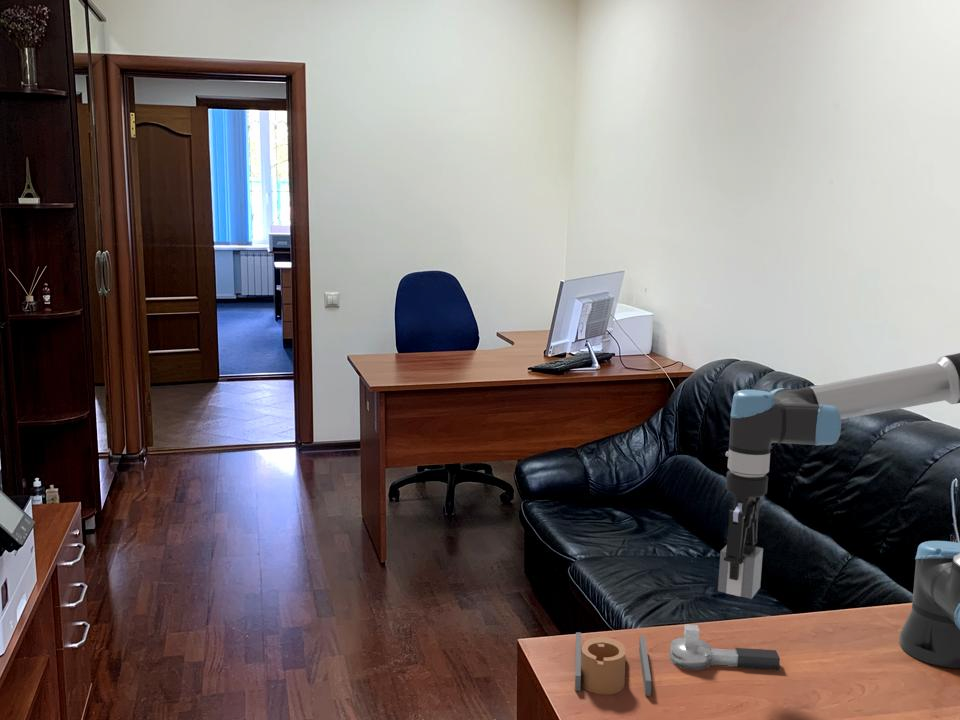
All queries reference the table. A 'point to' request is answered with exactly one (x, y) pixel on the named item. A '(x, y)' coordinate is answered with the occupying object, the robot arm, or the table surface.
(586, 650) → the tan slotted hollow cylinder
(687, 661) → the ratchet
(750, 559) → the socket
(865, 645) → the table surface
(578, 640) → the bar
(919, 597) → the robot arm
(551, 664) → the table surface
